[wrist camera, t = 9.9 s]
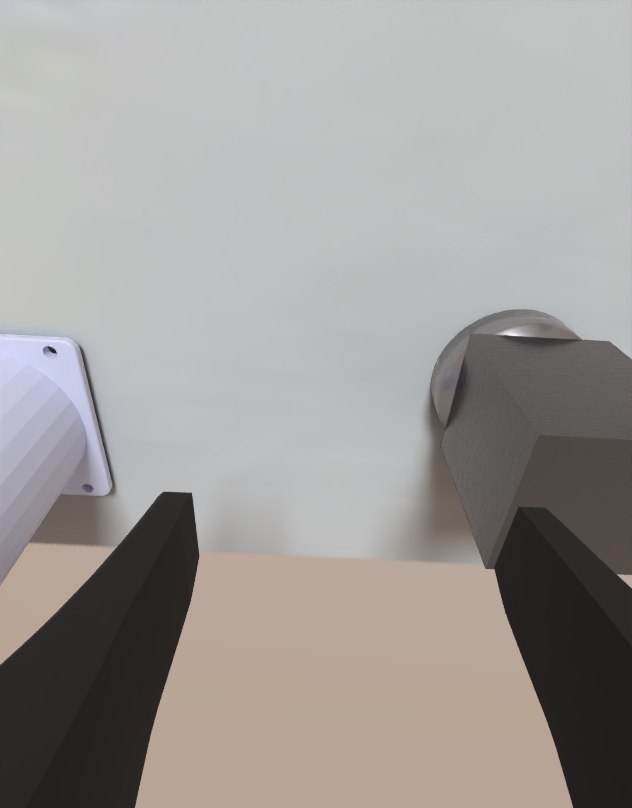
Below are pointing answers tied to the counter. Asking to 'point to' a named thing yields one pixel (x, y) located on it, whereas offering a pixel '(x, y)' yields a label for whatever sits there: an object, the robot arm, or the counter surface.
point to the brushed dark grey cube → (544, 440)
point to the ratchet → (495, 324)
